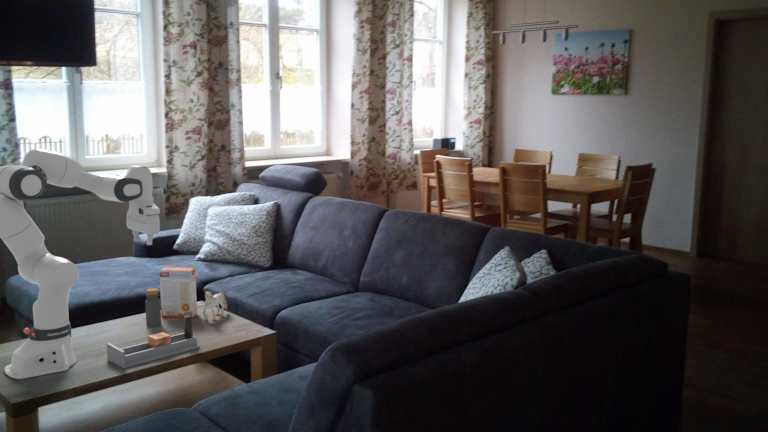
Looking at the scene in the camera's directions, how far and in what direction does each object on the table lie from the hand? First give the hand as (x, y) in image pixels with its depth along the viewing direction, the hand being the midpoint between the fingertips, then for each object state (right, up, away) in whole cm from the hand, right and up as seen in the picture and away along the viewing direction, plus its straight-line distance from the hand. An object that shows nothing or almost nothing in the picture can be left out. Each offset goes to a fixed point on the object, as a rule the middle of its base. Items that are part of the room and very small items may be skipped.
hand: (143, 243), depth 271 cm
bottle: (-2, -35, +19) cm, 39 cm away
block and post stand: (+14, -38, -9) cm, 41 cm away
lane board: (+9, -40, -14) cm, 43 cm away
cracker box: (+5, -33, +31) cm, 46 cm away
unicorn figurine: (+23, -34, +27) cm, 49 cm away
